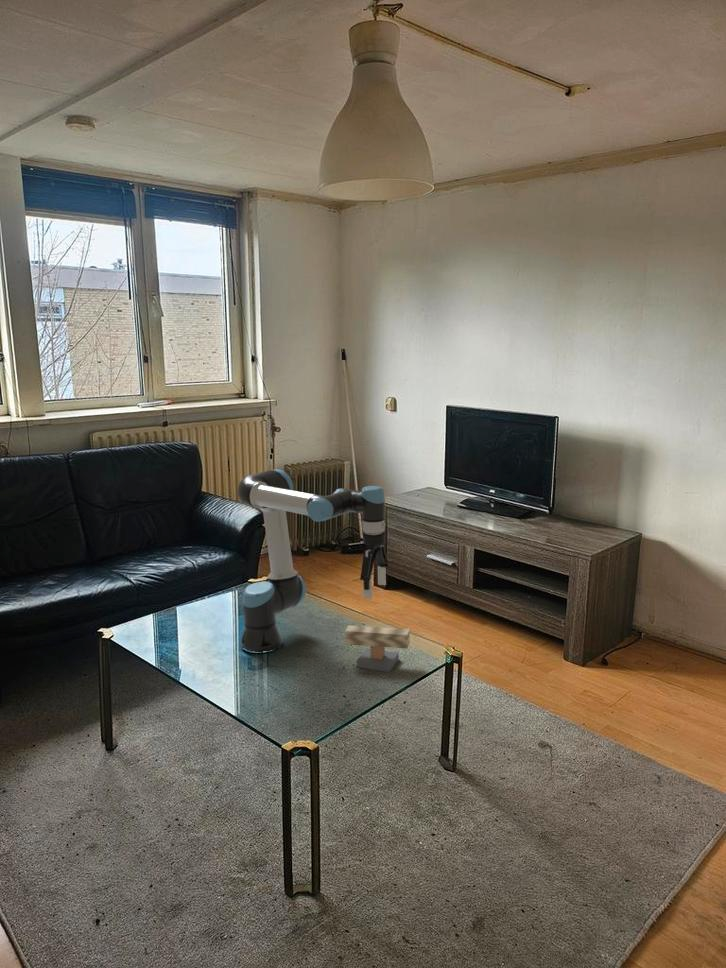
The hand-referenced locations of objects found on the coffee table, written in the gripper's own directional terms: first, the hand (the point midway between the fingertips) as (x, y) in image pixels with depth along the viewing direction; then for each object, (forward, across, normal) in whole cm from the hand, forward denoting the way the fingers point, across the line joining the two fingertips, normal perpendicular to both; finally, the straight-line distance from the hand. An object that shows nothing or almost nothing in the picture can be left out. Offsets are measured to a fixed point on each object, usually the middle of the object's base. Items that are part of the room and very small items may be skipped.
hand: (375, 591), depth 237 cm
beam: (+19, 0, -1) cm, 19 cm away
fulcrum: (+27, 0, -1) cm, 27 cm away
